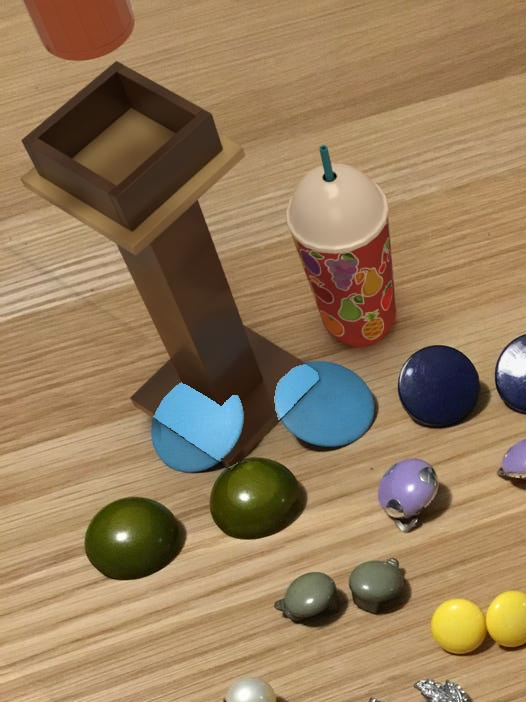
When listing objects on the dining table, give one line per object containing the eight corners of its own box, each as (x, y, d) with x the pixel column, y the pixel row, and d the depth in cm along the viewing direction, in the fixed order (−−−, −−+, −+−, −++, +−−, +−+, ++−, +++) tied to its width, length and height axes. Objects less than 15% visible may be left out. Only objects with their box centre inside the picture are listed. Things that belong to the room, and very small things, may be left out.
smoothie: (399, 280, 105) (369, 100, 87) (412, 350, 102) (385, 178, 84) (311, 296, 105) (263, 118, 87) (322, 366, 102) (274, 197, 83)
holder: (134, 405, 101) (-11, 144, 75) (223, 318, 105) (116, 40, 78) (231, 471, 98) (116, 221, 71) (320, 379, 101) (242, 109, 75)
